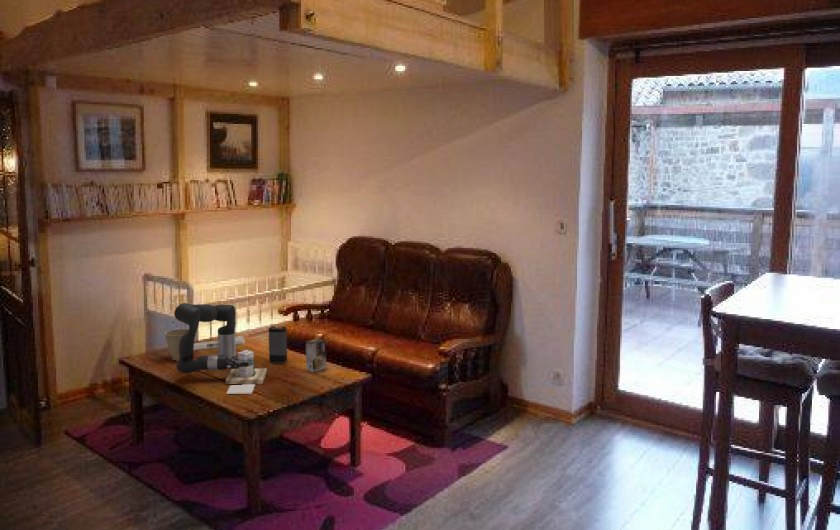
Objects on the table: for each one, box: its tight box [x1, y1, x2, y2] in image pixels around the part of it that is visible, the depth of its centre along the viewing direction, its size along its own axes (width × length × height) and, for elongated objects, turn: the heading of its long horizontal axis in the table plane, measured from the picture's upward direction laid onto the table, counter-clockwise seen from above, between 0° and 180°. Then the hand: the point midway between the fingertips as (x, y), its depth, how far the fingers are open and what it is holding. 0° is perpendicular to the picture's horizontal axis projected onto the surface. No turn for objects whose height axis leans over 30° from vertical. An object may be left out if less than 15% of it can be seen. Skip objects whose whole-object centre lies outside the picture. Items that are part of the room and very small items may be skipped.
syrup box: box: [237, 349, 255, 377], centre depth 345 cm, size 6×6×14 cm
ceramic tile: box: [225, 384, 256, 395], centre depth 328 cm, size 12×12×1 cm
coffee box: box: [305, 338, 327, 373], centre depth 361 cm, size 9×6×16 cm
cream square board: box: [225, 367, 268, 385], centre depth 346 cm, size 18×18×2 cm
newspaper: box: [193, 335, 246, 352], centre depth 407 cm, size 35×12×4 cm, turn 120°
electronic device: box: [268, 325, 288, 364], centre depth 373 cm, size 9×6×20 cm, turn 84°
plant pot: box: [164, 328, 189, 362], centre depth 377 cm, size 15×15×16 cm
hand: (249, 361), depth 345 cm, fingers open, 8 cm apart
